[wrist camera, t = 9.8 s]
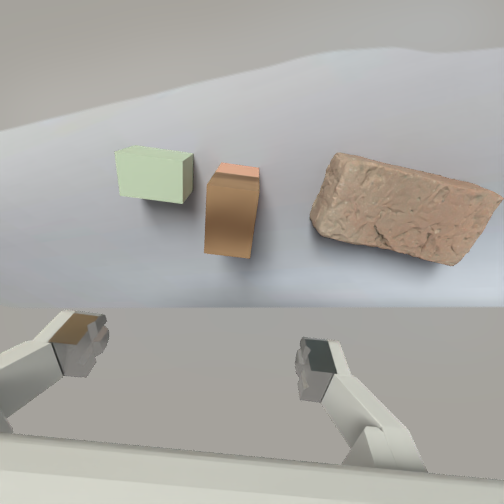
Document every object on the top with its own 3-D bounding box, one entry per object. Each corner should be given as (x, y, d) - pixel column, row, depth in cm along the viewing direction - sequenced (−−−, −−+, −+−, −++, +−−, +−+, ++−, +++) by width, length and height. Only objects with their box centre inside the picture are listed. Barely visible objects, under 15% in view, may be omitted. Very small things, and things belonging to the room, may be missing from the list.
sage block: (193, 153, 27) (182, 161, 23) (192, 190, 29) (182, 203, 25) (135, 145, 27) (114, 151, 23) (138, 183, 28) (119, 195, 25)
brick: (306, 221, 31) (314, 239, 26) (332, 148, 26) (346, 156, 22) (433, 248, 32) (459, 269, 28) (475, 183, 28) (513, 196, 24)
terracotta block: (221, 162, 27) (215, 171, 23) (258, 167, 27) (259, 177, 23) (217, 215, 30) (211, 231, 26) (251, 219, 30) (250, 236, 26)
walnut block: (215, 171, 23) (206, 184, 19) (259, 177, 23) (259, 191, 19) (212, 231, 26) (204, 253, 22) (251, 236, 26) (249, 258, 22)
